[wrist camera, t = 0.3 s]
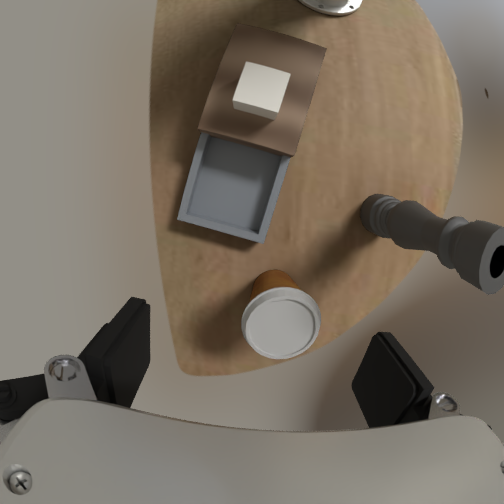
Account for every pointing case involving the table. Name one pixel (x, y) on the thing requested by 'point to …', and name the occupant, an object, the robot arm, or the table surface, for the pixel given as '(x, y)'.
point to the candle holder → (441, 238)
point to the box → (232, 188)
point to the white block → (260, 90)
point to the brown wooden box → (294, 101)
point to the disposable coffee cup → (280, 317)
